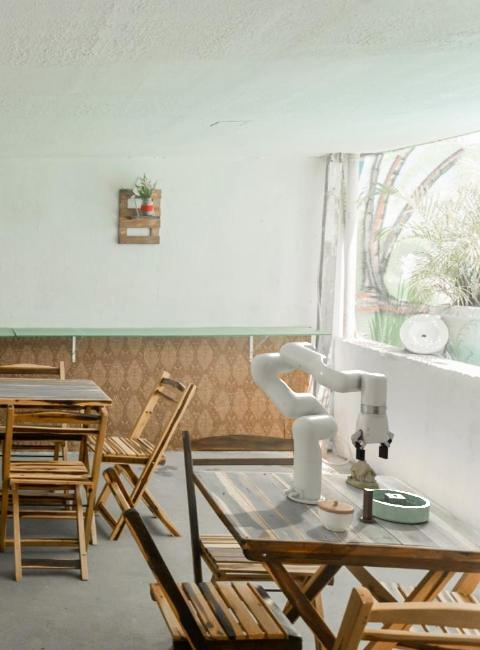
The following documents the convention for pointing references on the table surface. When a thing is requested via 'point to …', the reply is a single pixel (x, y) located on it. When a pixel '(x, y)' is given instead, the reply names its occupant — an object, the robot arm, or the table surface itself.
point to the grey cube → (395, 499)
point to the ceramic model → (362, 476)
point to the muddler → (367, 507)
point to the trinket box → (335, 515)
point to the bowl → (400, 507)
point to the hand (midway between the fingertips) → (371, 459)
